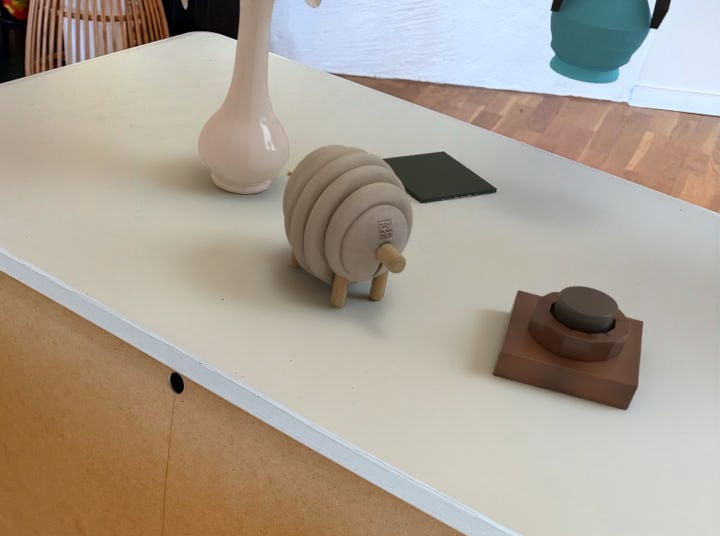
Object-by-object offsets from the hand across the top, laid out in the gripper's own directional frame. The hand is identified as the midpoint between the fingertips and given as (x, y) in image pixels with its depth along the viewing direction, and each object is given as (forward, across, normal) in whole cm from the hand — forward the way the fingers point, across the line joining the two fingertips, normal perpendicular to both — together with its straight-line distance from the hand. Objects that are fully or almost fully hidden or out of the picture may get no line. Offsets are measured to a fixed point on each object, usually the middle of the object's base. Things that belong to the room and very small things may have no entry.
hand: (608, 10), depth 82 cm
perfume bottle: (+2, 0, -6) cm, 7 cm away
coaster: (+10, +12, -17) cm, 23 cm away
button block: (+33, -2, +6) cm, 33 cm away
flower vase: (+18, +31, -9) cm, 37 cm away
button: (+30, -3, +9) cm, 32 cm away
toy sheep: (+30, +18, +3) cm, 35 cm away
